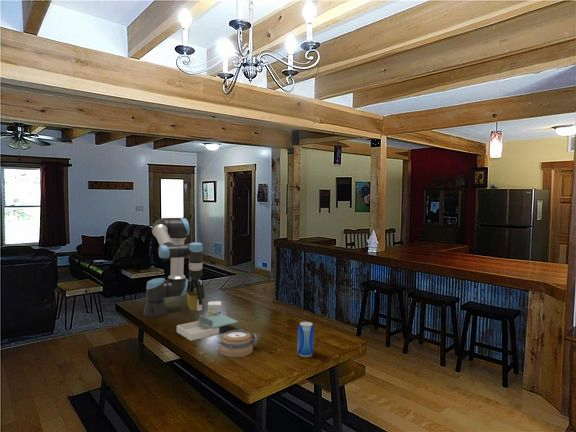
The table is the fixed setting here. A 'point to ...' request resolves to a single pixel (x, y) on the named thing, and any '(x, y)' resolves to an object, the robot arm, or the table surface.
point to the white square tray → (196, 330)
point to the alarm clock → (237, 343)
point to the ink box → (214, 308)
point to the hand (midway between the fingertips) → (195, 308)
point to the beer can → (305, 339)
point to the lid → (216, 321)
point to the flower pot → (192, 300)
